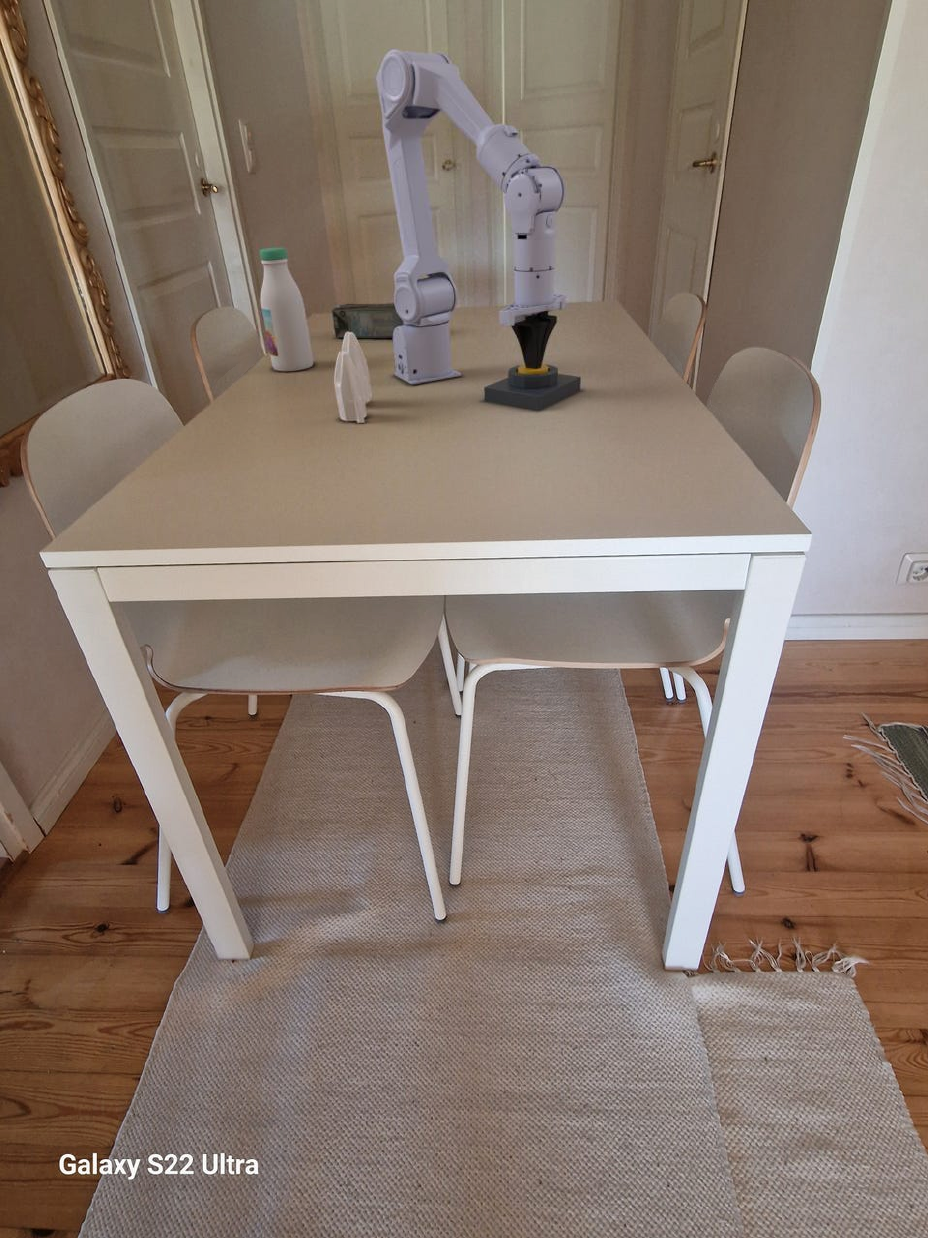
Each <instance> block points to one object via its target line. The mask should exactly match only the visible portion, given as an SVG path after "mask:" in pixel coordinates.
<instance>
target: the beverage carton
mask: <svg viewBox="0 0 928 1238" xmlns="http://www.w3.org/2000/svg"><path fill="white" fill-rule="evenodd" d="M331 316H332V320H333V321H332V322H333V330H334V336H335V338H337V339H338V338H339V339H340V338H343V339H344V336H345V333H346V332H352V333H354V335H355V337H356V339H393V331H394V329H395V328H396V327H398V326H403V325H405V324H403V320H402V319H401V318H400V316H399V315H398V313H397V311H396V308H395V304H394V302H391V303H389V302H388V303H344V304H337V305H336V307H334V308H333V309H332V310H331Z"/></svg>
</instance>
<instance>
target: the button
mask: <svg viewBox="0 0 928 1238" xmlns="http://www.w3.org/2000/svg"><path fill="white" fill-rule="evenodd" d="M520 365H521V366H519V367H518V373H521V374H542V373H546V372H548V366H547V365H548V364H545V365H544V363H542V365H541V367H540V368H538V369H531V368H526V367H525V364H520Z"/></svg>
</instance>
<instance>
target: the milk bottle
mask: <svg viewBox="0 0 928 1238" xmlns="http://www.w3.org/2000/svg"><path fill="white" fill-rule="evenodd" d="M259 257H260V261H261V265H262V266H263V280H262V284H261V289H260V298H259V299H260V308H261V314H262V320H263V325H264V330H265V336H266V340H267V346H268V351H269V356H270V361H271V366H272V368H273V370H275V371H279V372H296V371H302V370H305V369H309V368H311V367H313V365H314V357H313V350H312V343H311V338H310V331H309V325H308V320H307V315H306V308H305V304H304V300H303V296H302V293H301V291H300V289H299V287H298V285H297V283H296V282H295V280H294V278H293V276H292V274H291V271H290V270H289V265H288V262H289V260H288V255H287V249H286V248H285V247H268V248H262V249H260V250H259Z"/></svg>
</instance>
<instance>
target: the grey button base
mask: <svg viewBox="0 0 928 1238" xmlns="http://www.w3.org/2000/svg"><path fill="white" fill-rule="evenodd" d="M543 364H544V363H543ZM521 365H522V364H519V365H515V366H513V367H510V368H509V369H508V372H507V377H506V378H503V379H501V380H498V381H496V382H493V383H491V384H489V385H486V386H484V388H483V389H484V393H483V394H484V395H483V396H484V402H487V403H491V404H497V405H502V406H508V407H514V408H518V409H525V410H529V411H534V412H535V411H536V412H539V411H542V410H544V409H546V408H548V407H550V406H552V405H554V404H556V403H558V402H560V401H562V400H565V399H567V398H568V397H570V396H573V395H574V394H575V395H576V394H577V393H579V392H580V391H581V381H582V380H581V379H582V377H581V376H578V375H570V374H563V373H559V368H558V367H556V366H554V365H552V364H544V365H547V366H548V372H546V373H542V374H521V373H518V367H519V366H521Z"/></svg>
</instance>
